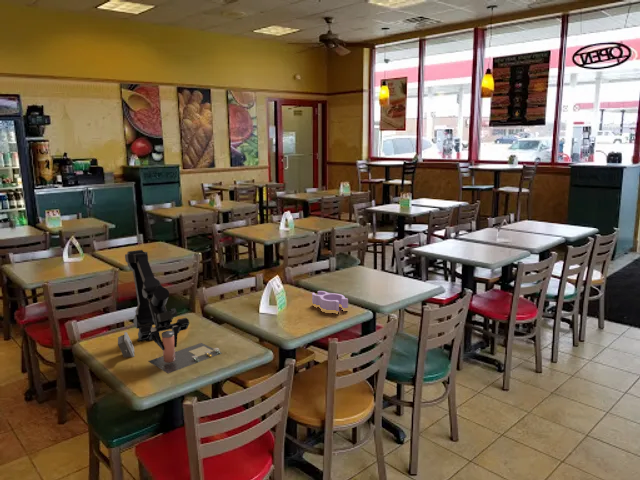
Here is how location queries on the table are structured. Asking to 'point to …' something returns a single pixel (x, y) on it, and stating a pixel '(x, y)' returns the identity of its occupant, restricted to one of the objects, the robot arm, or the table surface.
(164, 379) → the table surface
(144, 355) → the table surface
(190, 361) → the breaker panel
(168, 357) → the post
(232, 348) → the table surface
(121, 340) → the electrical switch
